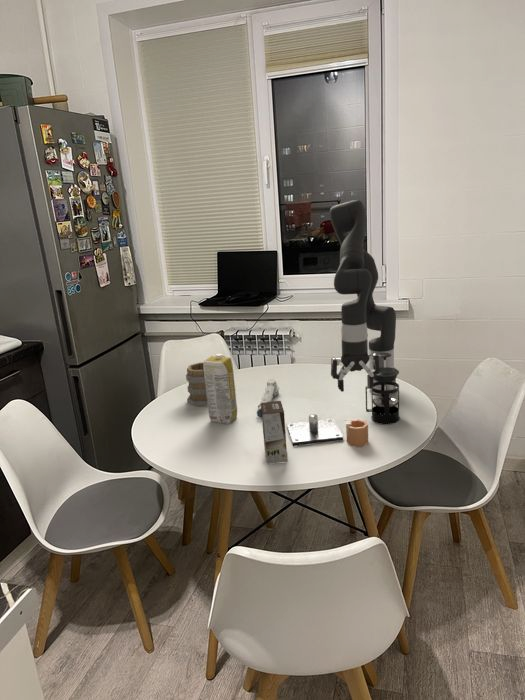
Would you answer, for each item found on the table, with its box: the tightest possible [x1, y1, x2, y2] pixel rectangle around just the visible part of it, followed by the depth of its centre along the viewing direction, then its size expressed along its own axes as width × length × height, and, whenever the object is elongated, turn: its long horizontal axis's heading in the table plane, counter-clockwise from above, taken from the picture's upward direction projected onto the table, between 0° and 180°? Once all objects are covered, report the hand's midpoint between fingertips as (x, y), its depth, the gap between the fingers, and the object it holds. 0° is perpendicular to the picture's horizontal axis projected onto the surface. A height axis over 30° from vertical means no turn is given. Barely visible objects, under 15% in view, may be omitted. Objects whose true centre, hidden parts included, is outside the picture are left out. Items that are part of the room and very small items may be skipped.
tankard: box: [185, 355, 226, 407], centre depth 205 cm, size 20×13×15 cm, turn 129°
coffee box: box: [261, 400, 288, 465], centre depth 155 cm, size 9×6×16 cm
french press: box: [364, 353, 401, 425], centre depth 173 cm, size 12×9×23 cm
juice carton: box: [202, 353, 238, 425], centre depth 182 cm, size 9×8×24 cm
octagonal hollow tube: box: [345, 419, 369, 448], centre depth 161 cm, size 6×6×7 cm
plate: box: [286, 413, 344, 447], centre depth 168 cm, size 16×14×6 cm
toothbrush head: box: [256, 378, 280, 418], centre depth 196 cm, size 5×7×25 cm
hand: (355, 389), depth 157 cm, fingers open, 8 cm apart
